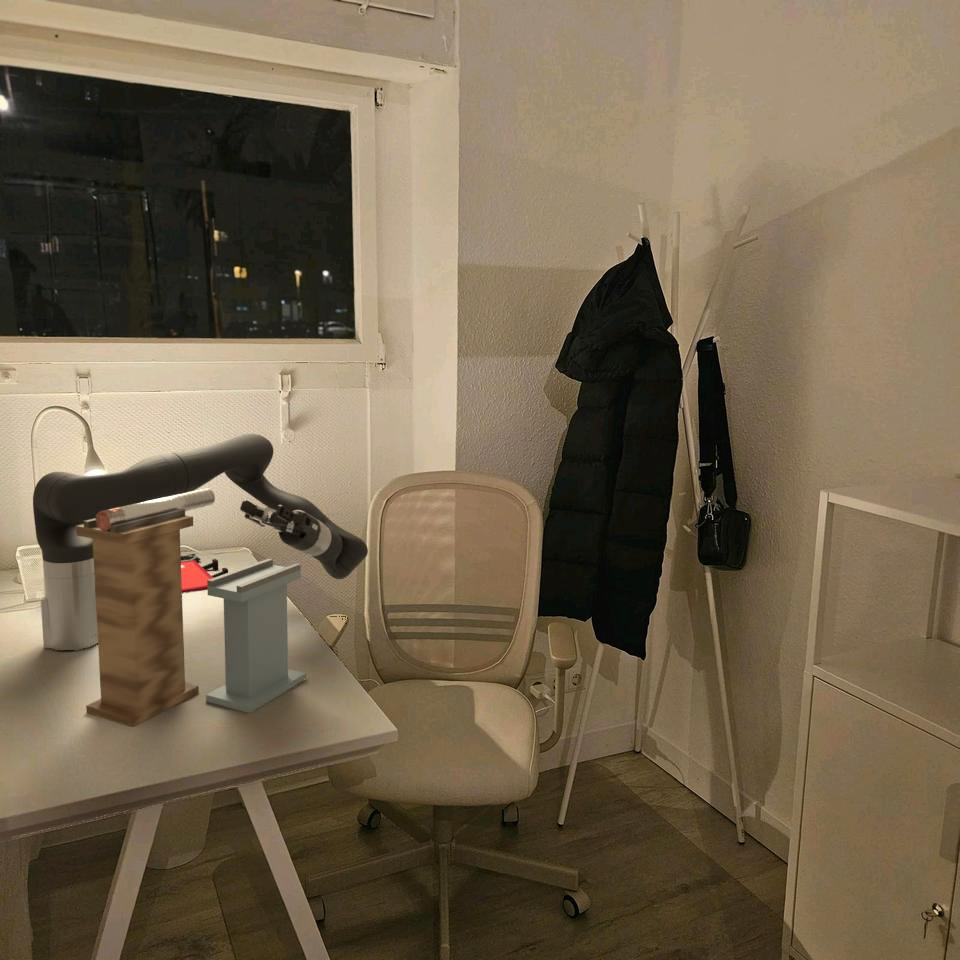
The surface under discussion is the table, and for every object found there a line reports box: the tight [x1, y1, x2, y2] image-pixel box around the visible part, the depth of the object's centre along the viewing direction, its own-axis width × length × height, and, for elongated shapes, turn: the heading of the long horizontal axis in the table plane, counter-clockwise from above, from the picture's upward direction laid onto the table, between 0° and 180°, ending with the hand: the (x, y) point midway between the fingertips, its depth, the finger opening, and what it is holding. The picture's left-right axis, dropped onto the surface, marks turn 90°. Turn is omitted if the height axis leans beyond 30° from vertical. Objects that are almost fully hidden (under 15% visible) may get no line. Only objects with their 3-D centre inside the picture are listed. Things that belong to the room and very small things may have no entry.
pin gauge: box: [96, 487, 216, 531], centre depth 133 cm, size 22×3×3 cm
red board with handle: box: [181, 553, 229, 594], centre depth 207 cm, size 30×3×15 cm
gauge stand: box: [76, 509, 199, 728], centre depth 133 cm, size 14×10×32 cm
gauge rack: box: [205, 558, 307, 714], centre depth 140 cm, size 15×9×21 cm, turn 155°
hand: (260, 507), depth 157 cm, fingers open, 8 cm apart
